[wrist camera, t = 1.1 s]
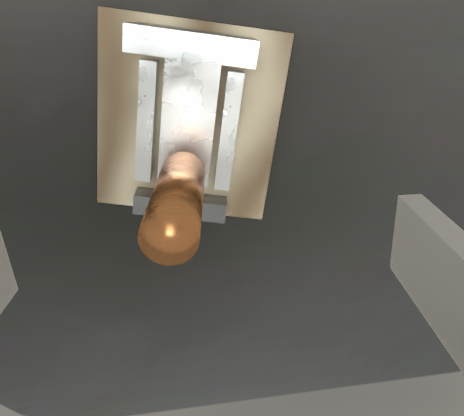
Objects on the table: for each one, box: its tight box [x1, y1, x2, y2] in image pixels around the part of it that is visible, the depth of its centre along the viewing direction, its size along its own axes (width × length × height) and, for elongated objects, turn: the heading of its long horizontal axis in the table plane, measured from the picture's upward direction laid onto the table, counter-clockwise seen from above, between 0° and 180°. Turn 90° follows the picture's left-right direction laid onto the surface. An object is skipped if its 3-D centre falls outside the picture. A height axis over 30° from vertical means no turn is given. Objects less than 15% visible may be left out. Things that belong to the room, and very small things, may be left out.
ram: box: [122, 22, 260, 266], centre depth 27 cm, size 8×12×12 cm, turn 173°
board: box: [97, 6, 294, 219], centre depth 34 cm, size 14×15×1 cm
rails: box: [133, 57, 245, 224], centre depth 33 cm, size 7×12×2 cm, turn 173°
